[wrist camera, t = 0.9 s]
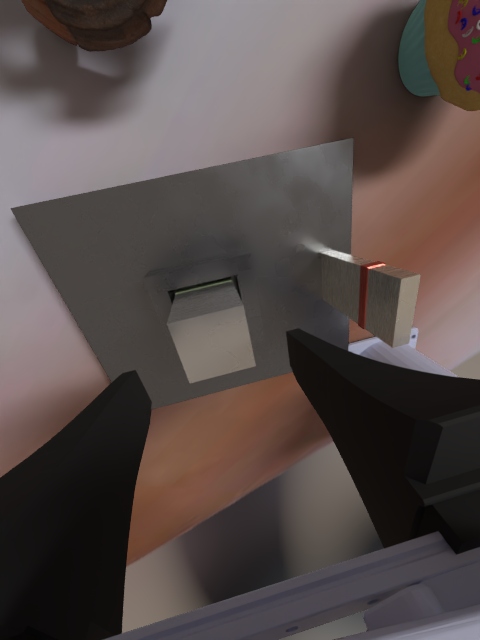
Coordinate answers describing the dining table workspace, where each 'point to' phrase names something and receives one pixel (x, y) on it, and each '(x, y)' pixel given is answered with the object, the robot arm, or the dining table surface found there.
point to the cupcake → (443, 52)
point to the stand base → (219, 263)
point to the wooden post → (210, 330)
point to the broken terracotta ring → (97, 20)
